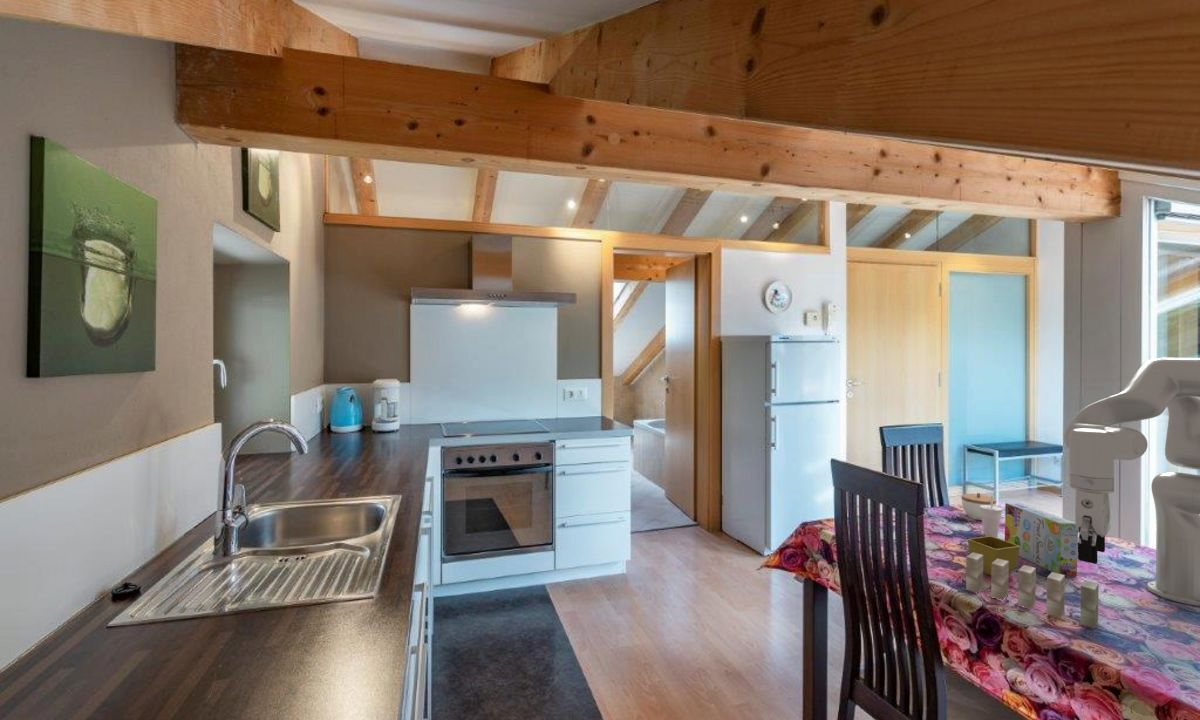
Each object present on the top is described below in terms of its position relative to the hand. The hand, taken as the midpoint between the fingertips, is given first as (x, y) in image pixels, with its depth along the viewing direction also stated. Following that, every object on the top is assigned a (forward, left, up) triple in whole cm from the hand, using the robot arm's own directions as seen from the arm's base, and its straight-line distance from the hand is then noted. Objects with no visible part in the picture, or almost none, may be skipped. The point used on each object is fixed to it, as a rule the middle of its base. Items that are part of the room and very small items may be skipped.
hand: (1091, 555), depth 122 cm
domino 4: (+6, +1, -16) cm, 17 cm away
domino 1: (+23, +1, -16) cm, 28 cm away
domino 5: (0, 0, -16) cm, 16 cm away
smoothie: (+33, -52, -16) cm, 64 cm away
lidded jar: (+42, -72, -16) cm, 85 cm away
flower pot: (+23, -15, -16) cm, 32 cm away
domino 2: (+17, +1, -16) cm, 23 cm away
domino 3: (+12, +1, -16) cm, 20 cm away
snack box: (+17, -36, -16) cm, 43 cm away
